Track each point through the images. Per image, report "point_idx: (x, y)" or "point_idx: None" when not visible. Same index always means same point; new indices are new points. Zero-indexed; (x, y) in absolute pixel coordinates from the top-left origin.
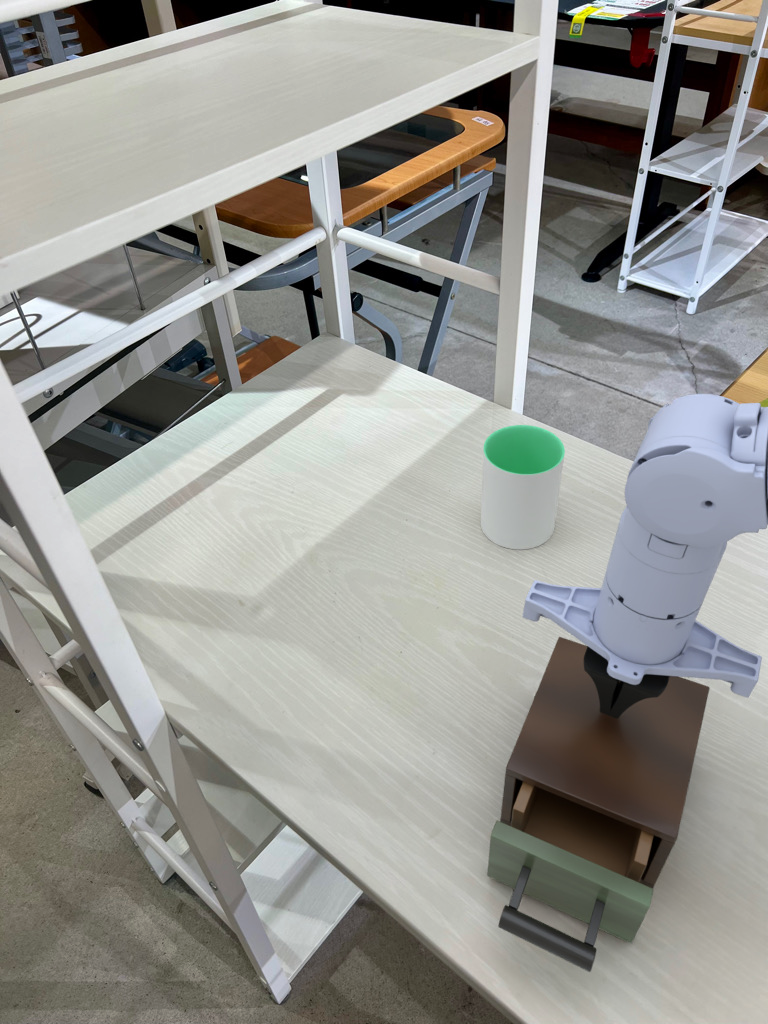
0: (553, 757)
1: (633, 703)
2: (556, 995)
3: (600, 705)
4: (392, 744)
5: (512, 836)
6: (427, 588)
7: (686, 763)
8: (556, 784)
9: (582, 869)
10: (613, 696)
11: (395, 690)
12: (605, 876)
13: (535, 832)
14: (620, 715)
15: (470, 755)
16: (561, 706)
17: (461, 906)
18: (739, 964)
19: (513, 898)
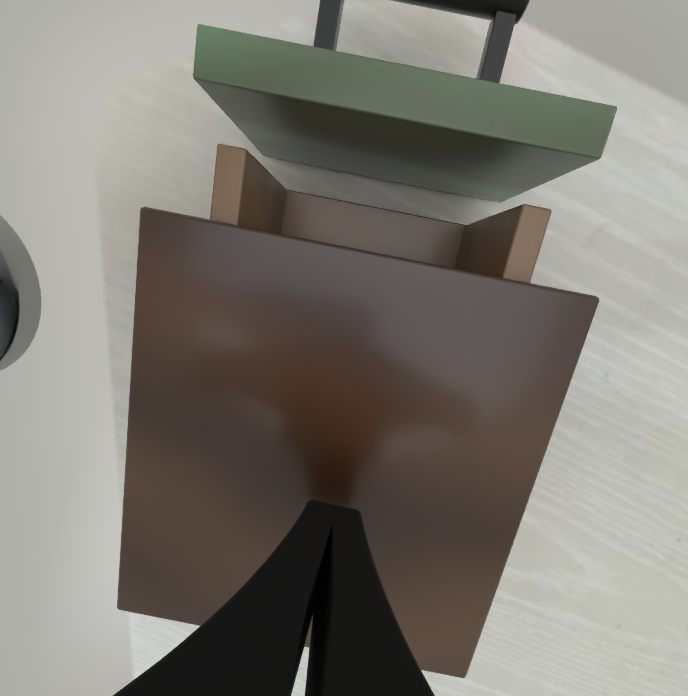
0: (468, 359)
1: (243, 590)
2: (374, 24)
3: (364, 537)
4: (682, 374)
5: (558, 119)
6: (639, 658)
7: (141, 415)
8: (456, 284)
9: (367, 80)
10: (326, 585)
11: (684, 471)
12: (309, 77)
13: (437, 259)
14: (301, 513)
15: None
16: (452, 504)
17: None
18: (120, 156)
19: (507, 32)
